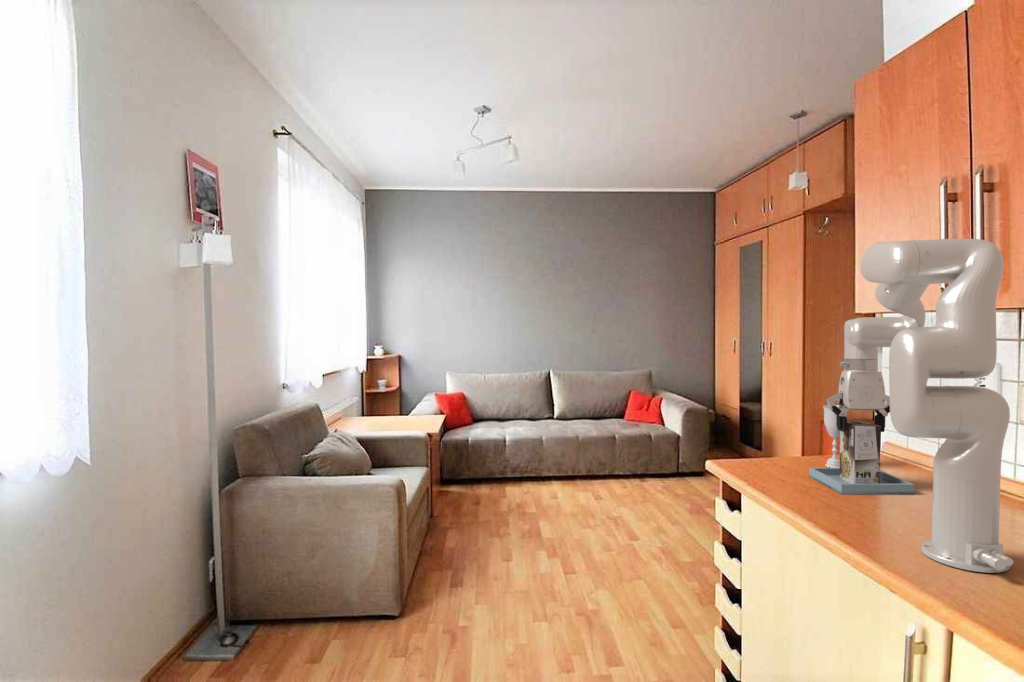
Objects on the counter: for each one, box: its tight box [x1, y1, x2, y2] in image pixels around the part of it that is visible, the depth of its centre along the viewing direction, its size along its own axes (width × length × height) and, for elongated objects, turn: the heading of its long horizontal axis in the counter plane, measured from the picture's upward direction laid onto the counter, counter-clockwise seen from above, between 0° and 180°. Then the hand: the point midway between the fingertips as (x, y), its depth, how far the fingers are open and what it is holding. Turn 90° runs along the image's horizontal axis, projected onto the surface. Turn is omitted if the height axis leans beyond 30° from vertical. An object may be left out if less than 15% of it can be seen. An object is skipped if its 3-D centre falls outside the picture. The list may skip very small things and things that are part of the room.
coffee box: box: [839, 419, 882, 484], centre depth 147 cm, size 9×6×16 cm
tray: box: [808, 467, 916, 495], centre depth 148 cm, size 16×18×2 cm
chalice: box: [822, 404, 848, 468], centre depth 166 cm, size 7×7×18 cm
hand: (860, 431), depth 147 cm, fingers open, 9 cm apart
